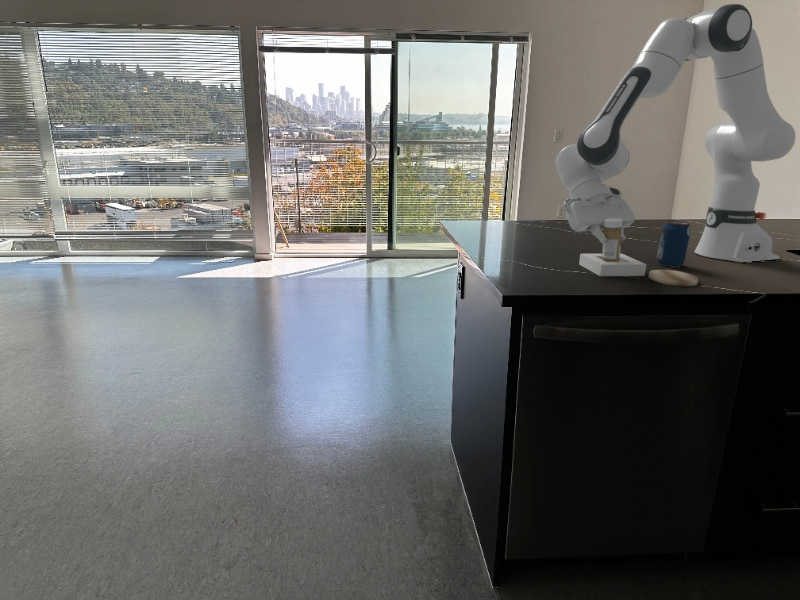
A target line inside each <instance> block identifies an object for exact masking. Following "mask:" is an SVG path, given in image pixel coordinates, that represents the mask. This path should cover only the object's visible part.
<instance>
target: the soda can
mask: <svg viewBox="0 0 800 600" xmlns="http://www.w3.org/2000/svg"><path fill="white" fill-rule="evenodd" d="M690 225H691V223H690V222H688V221H682V220H666V221H665V224H663V226H662V229H661V233H660V239H659V244H658V249H657V254H656V262H657V264H658V265H659V264H660V265H659V266H661V265H663V266H662V267H666V266H668V267H667V268H675V267H676V268H681V267H682V266H683V264H684V263H685V262H686V261H685V260H686V256H687V252H688V246H689V241H690V236H691V232H692V230H691V226H690Z"/></svg>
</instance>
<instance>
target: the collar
mask: <svg viewBox="0 0 800 600" xmlns="http://www.w3.org/2000/svg"><path fill="white" fill-rule="evenodd" d="M578 265H580V266H581V267H583V268H585V269H587V270H588V271H590V272H592V273H594V274H595V275H597V276H599V277H645V275H646V269H647V263H644V262H642V261H640V260H638V259H635V258H632V257H631V256H629V255H626V254H624V253H620V262H606V261H604V260H602V253H580V255H579V263H578Z"/></svg>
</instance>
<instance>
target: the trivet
mask: <svg viewBox="0 0 800 600" xmlns="http://www.w3.org/2000/svg"><path fill="white" fill-rule="evenodd" d="M647 278H648V279H649V280H650V279H651V280H650V281H652V280H653V282H655V283H657V284H661V283H662V284H661V285H666V286H673V287H674V286H675V287H695V286H697V285H698V283H699V277H697V276H696V275H694V274H691V273H689V272H685V271H679V270H672V269H652V270H650V271H649V272H648V276H647Z"/></svg>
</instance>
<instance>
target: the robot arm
mask: <svg viewBox="0 0 800 600" xmlns="http://www.w3.org/2000/svg"><path fill="white" fill-rule="evenodd" d="M752 18H753V17H752V15H751V13H750V10H748V8H747V7H746V6H745V5H743V4H738V3H731V4H725V5H722V6H719V7H714V8H710V9H706V10H703V11H701V12H699V13H697V14H694V15H692V16H690V17H686V18H680V17H671V18H667V19H665V20H664V21H662V22H661V23H660V24H659V25H657V27H656V29H655V30H654V31H653V33H652V34H651V35H650V36H649V38H648V39H647V41H646V43H645V44H644V46H643V47H642V49H641V51H640V53H639V54H638V56H637V58H636V60H635V61H634V63H633V64H632V67H630V69H629V70H628V71H627V72H626V73H625V74H624V75H623V77H622V78H621V80H620V81H619V83H618V84H617V86H616V87H615V89H614V90H613V92H612V94H611V95H610V97H609V98H608V99H607V101H606V102H605V104H604V105H603V107H602V109H601V111H600V112H599V113H598V114H597V116H596V117H595V118H594V119H593V120H592V121H591V122H590V123H589V124H588V125H587V126H586V127H585V128H584V129H583V130H582V131H581V132H580V134H579V137H578V139H577V141H576V142H577V143H571V144H569V145H567V146H565V147H563V148H562V150H560V151H559V153H558V154H557V155H556V158H555V168H556V171H557V173H558V177H559V179H560V181H561V182H562V185H563V186H564V187H565V188H566V190H567V191H568V194H569V195H568V196H569V197H570V198H566V199H565V201H564V202H563V208H564V210H565V215H566V218H567V221H568V224H569V226H570V228H571V230H573V231H574V232H578V233H579V232H587V231H589V232H590V233H591V234H592V235H593V236H595V237H596V238H597V239H598V241H599V242H600V243H601V244H603V243H607V242H608V241H609V238H608V235H607V234H604V226H603V223H604V219H606V218H621V219H623V226H622V228H621V242H623V241H625V240H626V238H627V237H626V234H624V228H625V229H626V228H628V227H629V226H630V225H632V224H633V223H634V222H635V219H636V217H635V215H634V211H633V210H632V209H631V206H630V205H629V203H628V202H627V201H626V199H625V198H623V192H622V190H620V189H619V188H614V187H612V186H609V185H607V184H606V183H603V182H602V181H606V180H608V179H610V178H612V177H615V176H616V175H619V174H621V172H623V171H624V170H625V169H626V167H627V166H628V164H629V162H630V152H629V150H628V148H627V146H626V145H625V143H624V142H623V140H622V138H621V131H622V130H621V129H622V127H623V125H624V124H625V121H626V120H627V118H628V117H629V115H630V114H631V112H632V111H633V109H634V107H635V106H636V104H637V103H638V101H640V100H641V98H646V99H652V98H656V97H657V98H658V97H659V96H662V95H663V94H666V92H667V91H668V90H669V88H670V87H671V86H672V85H673V83H674V82H675V80H676V79H677V77H678V75H679V73H680V71H681V70H682V68H683V66H684V63H685V62H687V61H690V60H700V59H704V58H705V59H706V58H709V57H710V58H711V59H712V61H713V73H714V75H713V76H714V81H715V89H716V96H717V101H718V102H717V104H718V105H719V108H720V109H721V110H722V111H723V112H725V113H726V114H727V115H728V116H729V118H730V119H731V120H728V121H724V122H722V123H719V124H715V126H713V127H712V128H711V129H710V130H709V132H707V134H706V136H705V141H704V143H705V144H704V145H705V148H706V151H707V152H708V153H709V155H710V157H711V158H712V162H713V168H714V187H713V191H712V197H711V203H710V206H708V209H707V212H706V218H705V226H704V229H703V231H702V232H703V233H702V235H701V238H700V239H699V242H698V244H697V245H696V248H695V250H694V253H695V254H698V255H699V256H702V257H706V258H712V259H717V260H726V261H733V262H736V263H743V262H746V263H753V262H752V261H760V260H772V259H779V260H780V256H779V255H778V254H775V253H772V250H773V239H772V237H771V236H770V235H769V234H768V233H767V232H766V231H765V230H764V229H763V228H761V227H760V225H759V224H758V220H762V221H763V220H765V219H766V218H767V213H766V212H761V211H758V212H756V210H755V208H756V207H755V206H756V202H757V201H758V200H757V199H758V195H759V191H760V187H761V185H760V181H759V179H758V178H757V176H755V174H754V171H753V168H752V162H768V161H775V160H779V159H781V158H784V157H785V156H786V155H788V154H789V153H790V152H791V150H792V149H793V147H794V146H795V143H796V138H797V137H796V131H795V128H794V127H793V125H792V124H791V123H789V122H788V121H786V120H785V119H783V117H782V116H780V114H779V112H778V111H777V109H776V108H775V106H774V104H773V101H772V99H771V98H770V96H769V93H768V86H767V81H766V74H765V66H764V57H763V52H762V47H761V43H760V41H759V37H758V35H757V32H756V30H755V29H754V28H753V19H752ZM757 219H758V220H757Z"/></svg>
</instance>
